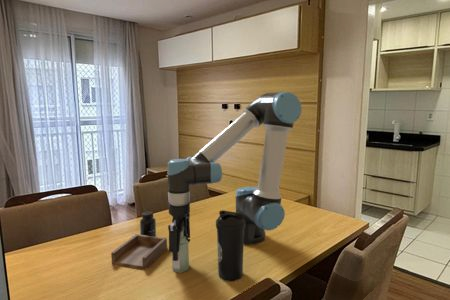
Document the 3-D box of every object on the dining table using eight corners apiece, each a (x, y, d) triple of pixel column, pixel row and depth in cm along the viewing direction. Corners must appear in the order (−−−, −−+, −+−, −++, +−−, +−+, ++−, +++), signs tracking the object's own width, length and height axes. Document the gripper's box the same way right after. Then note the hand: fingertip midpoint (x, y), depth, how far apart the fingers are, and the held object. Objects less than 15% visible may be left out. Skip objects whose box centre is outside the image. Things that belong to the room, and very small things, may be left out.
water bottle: (215, 267, 111) (214, 207, 107) (242, 265, 111) (243, 206, 108) (216, 283, 101) (216, 218, 97) (246, 281, 101) (247, 217, 98)
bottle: (191, 264, 112) (190, 224, 110) (185, 273, 107) (184, 231, 104) (176, 262, 114) (175, 223, 112) (169, 270, 108) (168, 229, 106)
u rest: (167, 248, 125) (166, 238, 125) (145, 269, 109) (145, 257, 108) (136, 243, 129) (136, 234, 129) (111, 263, 113) (111, 252, 112)
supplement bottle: (152, 242, 130) (151, 216, 129) (137, 241, 132) (136, 215, 130) (158, 235, 137) (157, 210, 135) (144, 234, 138) (143, 209, 137)
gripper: (180, 194, 117) (181, 249, 120) (156, 210, 99) (159, 275, 102) (198, 195, 115) (199, 252, 118) (177, 212, 96) (179, 278, 100)
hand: (180, 262), depth 110 cm, fingers closed on bottle, 6 cm apart
